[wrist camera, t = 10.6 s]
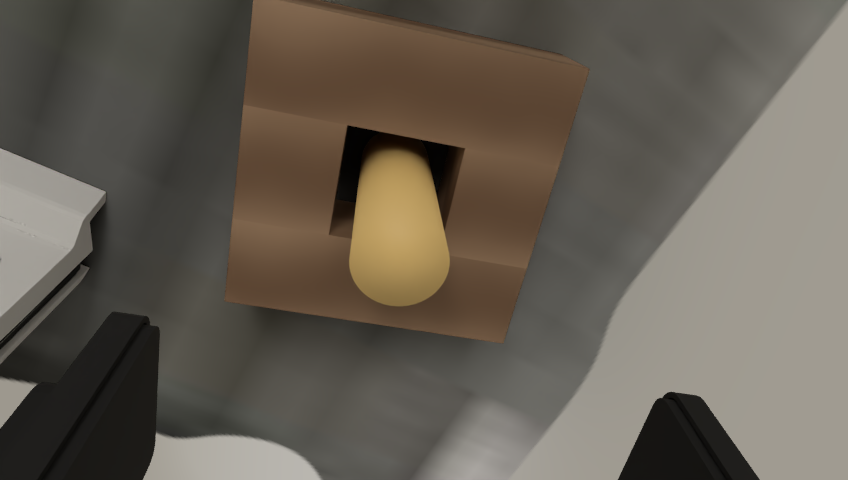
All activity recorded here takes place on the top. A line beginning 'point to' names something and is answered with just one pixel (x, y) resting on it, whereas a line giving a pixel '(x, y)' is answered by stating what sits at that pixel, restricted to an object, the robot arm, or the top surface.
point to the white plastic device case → (39, 243)
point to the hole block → (401, 115)
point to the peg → (397, 224)
